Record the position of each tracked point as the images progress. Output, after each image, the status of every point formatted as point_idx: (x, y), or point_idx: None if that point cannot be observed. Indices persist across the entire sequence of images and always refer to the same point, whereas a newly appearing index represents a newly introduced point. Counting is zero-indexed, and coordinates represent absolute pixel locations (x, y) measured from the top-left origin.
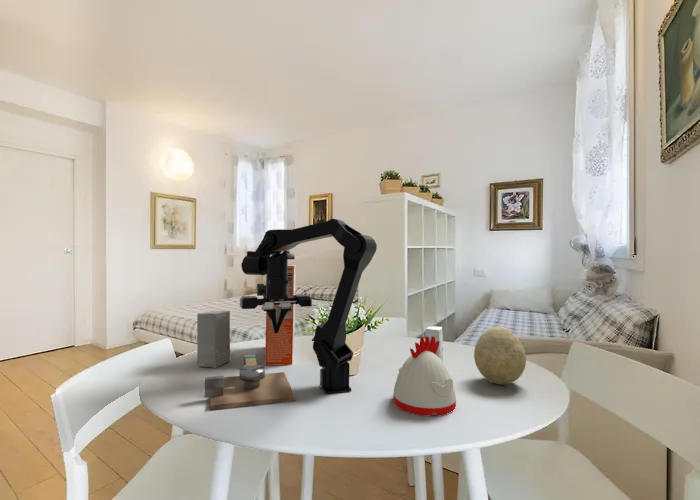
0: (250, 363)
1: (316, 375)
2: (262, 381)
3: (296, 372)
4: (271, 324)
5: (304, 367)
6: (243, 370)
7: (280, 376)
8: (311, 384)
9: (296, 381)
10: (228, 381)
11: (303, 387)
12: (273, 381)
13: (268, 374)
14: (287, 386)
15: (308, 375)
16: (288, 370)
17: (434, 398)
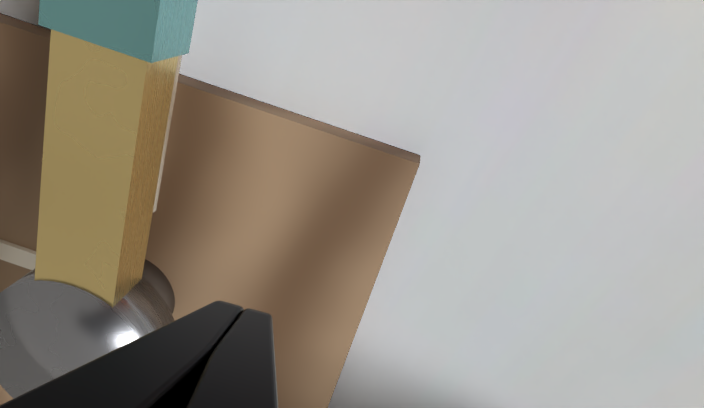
0: (73, 228)
1: (627, 279)
2: (209, 252)
3: (548, 134)
4: (86, 369)
5: (701, 45)
6: (4, 358)
7: (350, 235)
8: (484, 387)
9: (435, 297)
10: (10, 128)
11: (416, 395)
12: (271, 291)
13: (291, 145)
14: (311, 401)
15: (579, 247)
16: (524, 45)
17: None
